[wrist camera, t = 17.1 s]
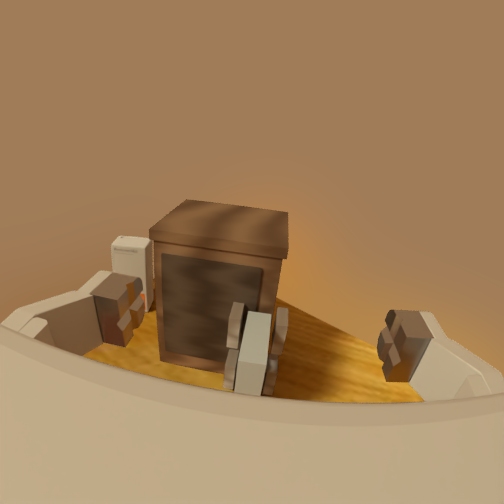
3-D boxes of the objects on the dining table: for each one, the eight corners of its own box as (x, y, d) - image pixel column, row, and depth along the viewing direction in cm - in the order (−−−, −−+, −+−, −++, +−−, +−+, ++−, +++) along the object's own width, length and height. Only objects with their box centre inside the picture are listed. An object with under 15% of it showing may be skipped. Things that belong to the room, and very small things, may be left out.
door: (265, 388, 38) (280, 315, 33) (260, 437, 30) (278, 366, 26) (239, 385, 38) (248, 310, 33) (229, 433, 31) (237, 360, 26)
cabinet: (276, 324, 51) (295, 213, 44) (270, 400, 36) (300, 263, 28) (183, 309, 52) (186, 199, 45) (149, 377, 37) (136, 239, 29)
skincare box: (116, 309, 49) (109, 244, 45) (123, 296, 53) (118, 234, 49) (149, 313, 50) (145, 247, 45) (154, 300, 54) (152, 237, 49)
